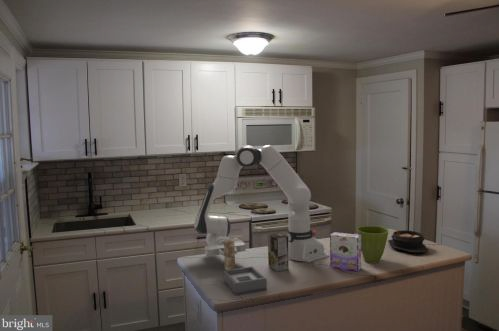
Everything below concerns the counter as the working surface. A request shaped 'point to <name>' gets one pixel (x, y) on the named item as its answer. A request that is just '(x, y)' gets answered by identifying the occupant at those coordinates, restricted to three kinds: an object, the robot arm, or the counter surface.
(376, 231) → the flower pot
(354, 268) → the candy box
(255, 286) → the box
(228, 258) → the peg
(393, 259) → the counter surface
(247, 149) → the robot arm
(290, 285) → the counter surface
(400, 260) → the counter surface
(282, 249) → the coffee box
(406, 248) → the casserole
